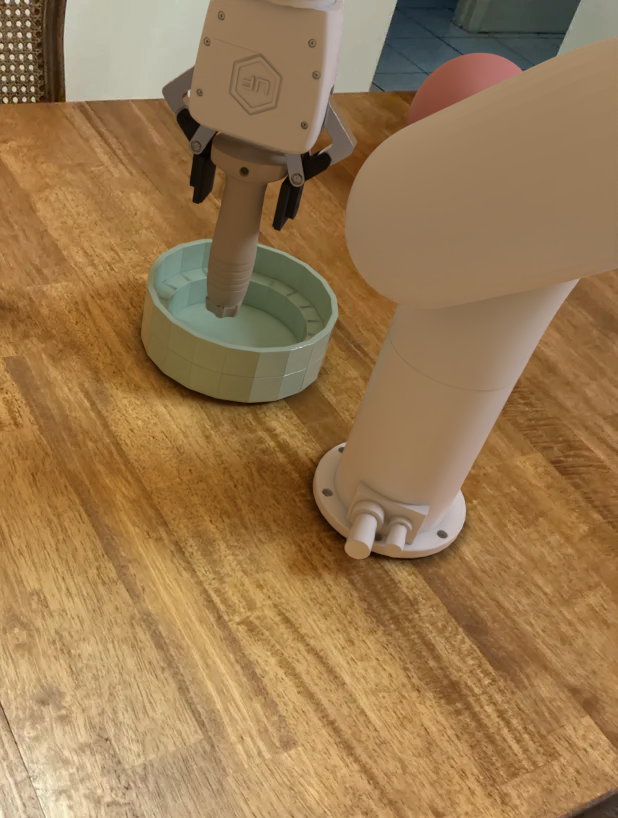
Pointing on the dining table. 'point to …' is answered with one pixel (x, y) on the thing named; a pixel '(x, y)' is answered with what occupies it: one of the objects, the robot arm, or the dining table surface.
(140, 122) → the dining table surface
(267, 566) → the dining table surface
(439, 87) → the balloon
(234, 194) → the handle
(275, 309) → the bowl
